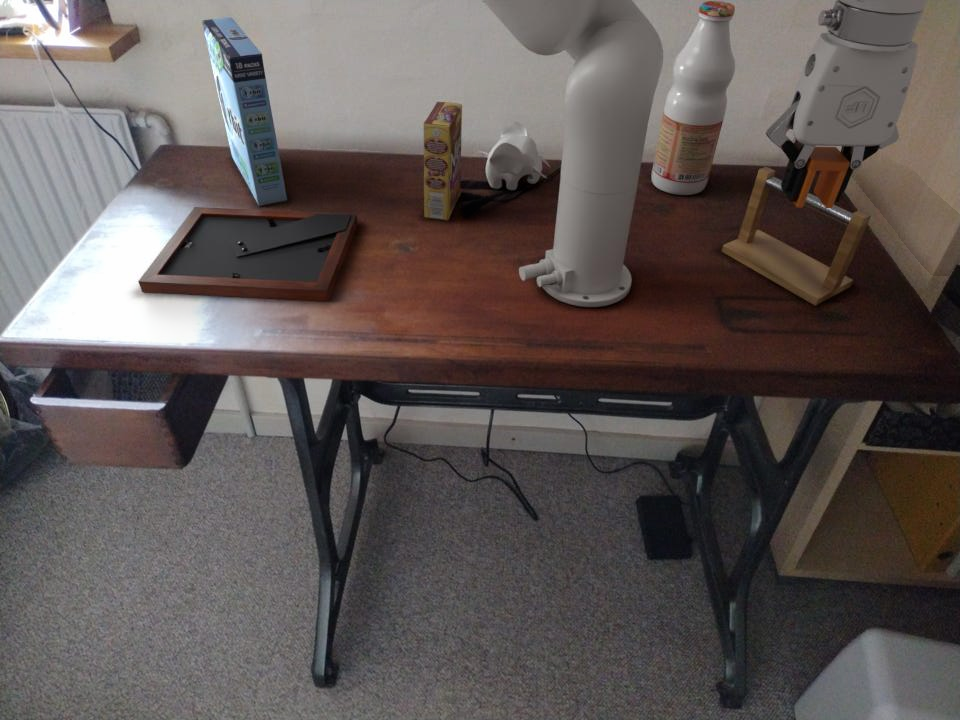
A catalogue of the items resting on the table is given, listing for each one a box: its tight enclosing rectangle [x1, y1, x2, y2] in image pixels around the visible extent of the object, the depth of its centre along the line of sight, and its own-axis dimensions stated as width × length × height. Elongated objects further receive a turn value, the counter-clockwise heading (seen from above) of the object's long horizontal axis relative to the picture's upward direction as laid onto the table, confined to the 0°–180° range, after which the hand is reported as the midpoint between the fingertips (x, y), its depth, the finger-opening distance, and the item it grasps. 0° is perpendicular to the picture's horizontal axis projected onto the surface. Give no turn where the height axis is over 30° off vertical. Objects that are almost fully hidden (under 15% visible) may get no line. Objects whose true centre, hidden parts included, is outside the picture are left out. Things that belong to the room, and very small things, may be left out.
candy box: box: [423, 101, 463, 221], centre depth 105 cm, size 9×4×15 cm, turn 169°
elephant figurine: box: [479, 121, 552, 191], centre depth 113 cm, size 10×12×9 cm
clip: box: [792, 146, 850, 209], centre depth 77 cm, size 4×4×6 cm
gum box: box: [201, 16, 288, 207], centre depth 108 cm, size 20×5×23 cm, turn 27°
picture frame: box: [138, 206, 359, 302], centre depth 98 cm, size 20×2×25 cm
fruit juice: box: [650, 0, 736, 196], centre depth 108 cm, size 9×9×28 cm
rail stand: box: [721, 166, 872, 306], centre depth 94 cm, size 8×16×12 cm, turn 34°
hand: (810, 194), depth 78 cm, fingers closed on clip, 4 cm apart
